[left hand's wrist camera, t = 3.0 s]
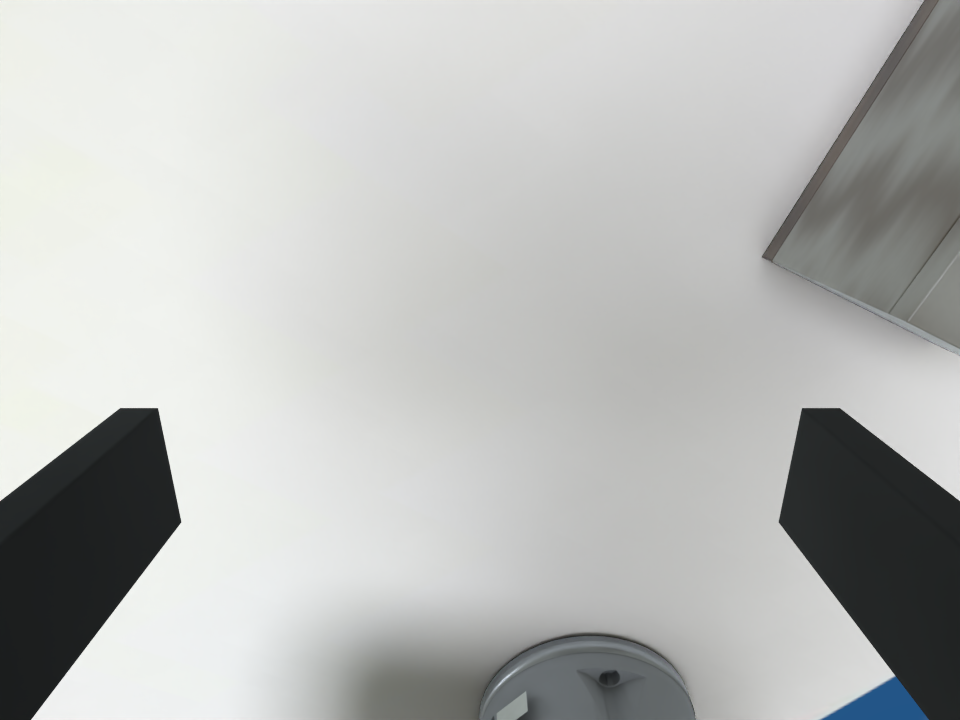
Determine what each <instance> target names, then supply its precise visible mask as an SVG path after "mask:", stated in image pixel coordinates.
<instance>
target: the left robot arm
mask: <svg viewBox="0 0 960 720" xmlns="http://www.w3.org/2000/svg"><path fill="white" fill-rule="evenodd" d="M180 523H181V518H180V514H179V509H178V504H177V499H176V494H175V489H174V484H173V480H172V475H171V470H170V465H169V460H168V455H167V450H166V445H165V441H164V436H163V431H162V426H161V421H160V416H159V411H158V408H120V409H119V410H117V411H116V412H115V413H114V414H112V415H111V416H110V417H108V418H107V419H106V420H104V421H103V422H102V423H101V424H99V425H98V426H97V427H95V428H94V429H93V430H92V431H90V432H89V433H88V434H86V435H85V436H84V437H83V438H81V439H80V440H79V441H77V442H76V443H75V444H74V445H72V446H71V447H70V448H68V449H67V450H66V451H64V452H63V453H62V454H61V455H59V456H58V457H57V458H55V459H54V460H53V461H52V462H50V463H49V464H48V465H46V466H45V467H44V468H43V469H41V470H40V471H39V472H37V473H36V474H35V475H33V476H32V477H31V478H30V479H28V480H27V481H26V482H24V483H23V484H22V485H21V486H19V487H18V488H17V489H15V490H14V491H13V492H12V493H10V494H9V495H8V496H6V497H5V498H4V499H2V500H1V501H0V720H31V719H32V718H33V716H34V715H35V714H36V712H37V711H38V710H39V708H40V707H41V706H42V705H43V703H44V702H45V701H46V699H47V698H48V697H49V695H50V694H51V693H52V691H53V690H54V689H55V687H56V686H57V685H58V684H59V682H60V681H61V680H62V678H63V677H64V676H65V674H66V673H67V672H68V670H69V669H70V668H71V666H72V665H73V664H74V662H75V661H76V660H77V659H78V657H79V656H80V655H81V653H82V652H83V651H84V649H85V648H86V647H87V645H88V644H89V643H90V641H91V640H92V639H93V638H94V636H95V635H96V634H97V632H98V631H99V630H100V628H101V627H102V626H103V624H104V623H105V622H106V620H107V619H108V618H109V616H110V615H111V614H112V613H113V611H114V610H115V609H116V607H117V606H118V605H119V603H120V602H121V601H122V599H123V598H124V597H125V595H126V594H127V593H128V592H129V590H130V589H131V588H132V586H133V585H134V584H135V582H136V581H137V580H138V578H139V577H140V576H141V574H142V573H143V572H144V571H145V569H146V568H147V567H148V565H149V564H150V563H151V561H152V560H153V559H154V557H155V556H156V555H157V553H158V552H159V551H160V549H161V548H162V547H163V546H164V544H165V543H166V542H167V540H168V539H169V538H170V536H171V535H172V534H173V532H174V531H175V530H176V528H177V527H178V526H179V525H180ZM779 523H780V525H781V526H782V527H783V528H784V530H785V531H786V532H787V534H788V535H789V536H790V538H791V539H792V540H793V542H794V543H795V544H796V546H797V547H798V548H799V549H800V551H801V552H802V553H803V555H804V556H805V557H806V559H807V560H808V561H809V563H810V564H811V565H812V567H813V568H814V569H815V571H816V572H817V573H818V574H819V576H820V577H821V578H822V580H823V581H824V582H825V584H826V585H827V586H828V588H829V589H830V590H831V592H832V593H833V594H834V595H835V597H836V598H837V599H838V601H839V602H840V603H841V605H842V606H843V607H844V609H845V610H846V611H847V613H848V614H849V615H850V616H851V618H852V619H853V620H854V622H855V623H856V624H857V626H858V627H859V628H860V630H861V631H862V632H863V634H864V635H865V636H866V638H867V639H868V640H869V641H870V643H871V644H872V645H873V647H874V648H875V649H876V651H877V652H878V653H879V655H880V656H881V657H882V659H883V660H884V661H885V662H886V664H887V665H888V666H889V668H890V669H891V670H892V672H893V673H894V674H895V676H896V677H897V678H898V680H899V681H900V682H901V683H902V685H903V686H904V687H905V689H906V690H907V691H908V693H909V694H910V695H911V697H912V698H913V699H914V701H915V702H916V703H917V704H918V706H919V707H920V708H921V710H922V711H923V712H924V714H925V715H926V716H927V718H928V719H929V720H960V501H959V500H958V499H956V498H955V497H954V496H952V495H951V494H950V493H948V492H947V491H946V490H945V489H943V488H942V487H941V486H939V485H938V484H937V483H936V482H934V481H933V480H932V479H930V478H929V477H928V476H927V475H925V474H924V473H923V472H921V471H920V470H919V469H917V468H916V467H915V466H914V465H912V464H911V463H910V462H908V461H907V460H906V459H905V458H903V457H902V456H901V455H899V454H898V453H897V452H896V451H894V450H893V449H892V448H890V447H889V446H888V445H886V444H885V443H884V442H883V441H881V440H880V439H879V438H877V437H876V436H875V435H874V434H872V433H871V432H870V431H868V430H867V429H866V428H865V427H863V426H862V425H861V424H859V423H858V422H857V421H856V420H854V419H853V418H852V417H850V416H849V415H848V414H846V413H845V412H844V411H843V410H841V409H840V408H802V411H801V416H800V421H799V426H798V431H797V436H796V441H795V445H794V450H793V455H792V460H791V465H790V470H789V475H788V480H787V484H786V489H785V494H784V499H783V504H782V509H781V514H780V518H779ZM479 720H696V718H695V712H694V709H693V705H692V703H691V700H690V697H689V694H688V692H687V689H686V687H685V684H684V682H683V680H682V679H681V677H680V675H679V674H678V673H677V671H676V670H675V669H674V668H673V667H672V666H671V665H670V664H669V663H668V662H667V661H666V660H665V659H664V658H662V657H661V656H659V655H658V654H656V653H655V652H653V651H651V650H650V649H648V648H646V647H643V646H641V645H639V644H636V643H633V642H630V641H627V640H622V639H618V638H612V637H605V636H577V637H569V638H563V639H559V640H554V641H551V642H548V643H544V644H541V645H539V646H537V647H534V648H532V649H530V650H528V651H526V652H524V653H522V654H521V655H519V656H517V657H516V658H514V659H513V660H512V661H510V662H509V663H508V664H506V665H505V666H504V667H503V668H502V669H501V670H500V671H499V672H498V673H497V674H496V676H495V677H494V678H493V679H492V681H491V682H490V684H489V685H488V687H487V689H486V691H485V693H484V696H483V698H482V701H481V705H480V712H479Z"/></svg>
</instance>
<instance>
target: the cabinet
mask: <svg viewBox="0 0 960 720" xmlns="http://www.w3.org/2000/svg"><path fill="white" fill-rule="evenodd" d="M763 258H764V259H766V260H768V261H770V262H772V263H774V264H776V265H778V266H780V267H782V268H784V269H786V270H788V271H790V272H792V273H794V274H796V275H798V276H800V277H802V278H804V279H806V280H808V281H810V282H812V283H814V284H816V285H818V286H820V287H822V288H824V289H826V290H828V291H830V292H832V293H834V294H836V295H838V296H840V297H842V298H844V299H846V300H848V301H850V302H852V303H854V304H856V305H858V306H860V307H862V308H864V309H866V310H868V311H870V312H872V313H874V314H876V315H878V316H880V317H882V318H884V319H886V320H888V321H890V322H892V323H894V324H896V325H898V326H900V327H902V328H904V329H906V330H908V331H910V332H912V333H914V334H916V335H918V336H920V337H921V338H923V339H925V340H927V341H929V342H931V343H933V344H935V345H938V346H940V347H942V348H944V349H946V350H949V351H951V352H953V353H955V354H957V355H959V356H960V0H925V1H924V3H923V4H922V6H921V7H920V9H919V10H918V12H917V14H916V15H915V17H914V18H913V20H912V22H911V23H910V25H909V26H908V28H907V29H906V31H905V33H904V34H903V36H902V37H901V39H900V40H899V42H898V44H897V45H896V47H895V48H894V50H893V52H892V53H891V55H890V56H889V58H888V59H887V61H886V63H885V64H884V66H883V67H882V69H881V70H880V72H879V74H878V75H877V77H876V78H875V80H874V81H873V83H872V85H871V86H870V88H869V89H868V91H867V93H866V94H865V96H864V97H863V99H862V100H861V102H860V104H859V105H858V107H857V108H856V110H855V111H854V113H853V115H852V116H851V118H850V119H849V121H848V123H847V124H846V126H845V127H844V129H843V130H842V132H841V134H840V135H839V137H838V138H837V140H836V141H835V143H834V145H833V146H832V148H831V149H830V151H829V152H828V154H827V156H826V157H825V159H824V160H823V162H822V164H821V165H820V167H819V168H818V170H817V171H816V173H815V175H814V176H813V178H812V179H811V181H810V182H809V184H808V186H807V187H806V189H805V190H804V192H803V194H802V195H801V197H800V198H799V200H798V201H797V203H796V205H795V206H794V208H793V209H792V211H791V212H790V214H789V216H788V217H787V219H786V220H785V222H784V223H783V225H782V227H781V228H780V230H779V231H778V233H777V235H776V236H775V238H774V239H773V241H772V242H771V244H770V246H769V247H768V249H767V250H766V252H765V253H764V255H763Z"/></svg>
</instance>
